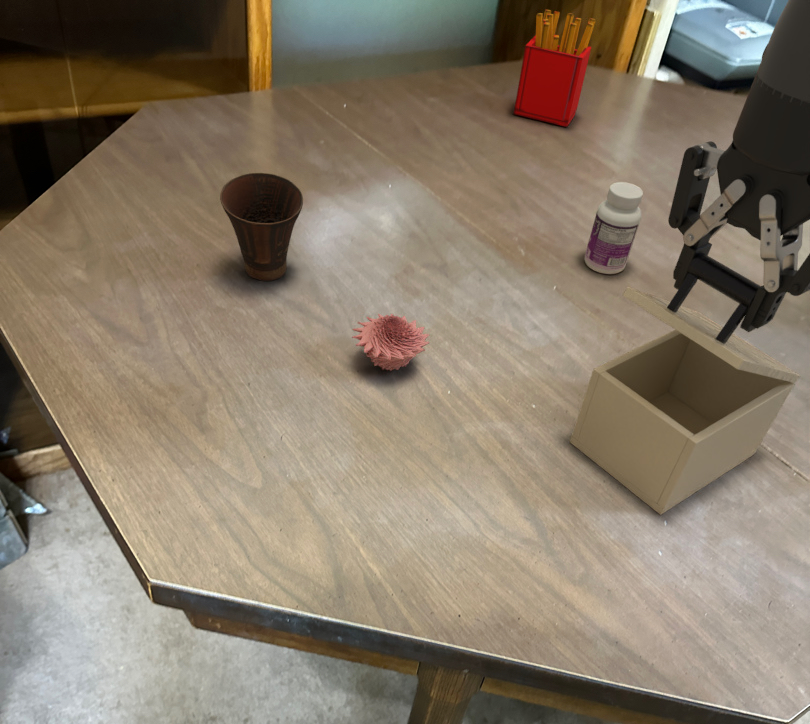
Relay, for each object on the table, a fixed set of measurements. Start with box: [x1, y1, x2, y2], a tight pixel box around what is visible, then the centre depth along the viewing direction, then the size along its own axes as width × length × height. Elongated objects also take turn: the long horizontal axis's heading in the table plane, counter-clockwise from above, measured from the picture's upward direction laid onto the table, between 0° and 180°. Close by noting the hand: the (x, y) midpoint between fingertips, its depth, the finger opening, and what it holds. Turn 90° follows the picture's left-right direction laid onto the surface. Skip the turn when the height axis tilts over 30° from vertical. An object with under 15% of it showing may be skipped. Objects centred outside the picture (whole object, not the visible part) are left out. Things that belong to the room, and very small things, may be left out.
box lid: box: [622, 253, 801, 383], centre depth 65 cm, size 15×12×6 cm
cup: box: [219, 172, 304, 282], centre depth 86 cm, size 9×9×10 cm
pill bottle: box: [584, 181, 644, 275], centre depth 94 cm, size 5×5×10 cm
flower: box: [351, 313, 430, 372], centre depth 79 cm, size 8×8×6 cm
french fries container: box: [513, 9, 597, 128], centre depth 123 cm, size 7×9×14 cm
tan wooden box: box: [569, 329, 796, 516], centre depth 72 cm, size 15×12×9 cm
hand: (716, 306), depth 62 cm, fingers closed on box lid, 6 cm apart
